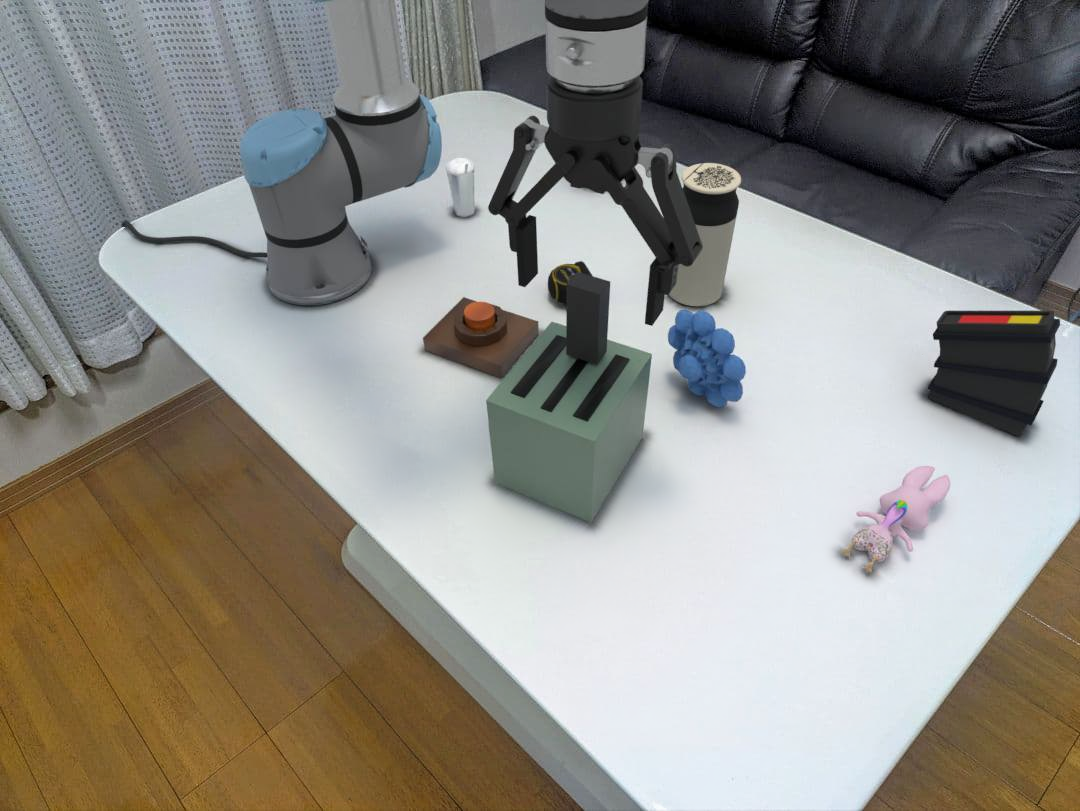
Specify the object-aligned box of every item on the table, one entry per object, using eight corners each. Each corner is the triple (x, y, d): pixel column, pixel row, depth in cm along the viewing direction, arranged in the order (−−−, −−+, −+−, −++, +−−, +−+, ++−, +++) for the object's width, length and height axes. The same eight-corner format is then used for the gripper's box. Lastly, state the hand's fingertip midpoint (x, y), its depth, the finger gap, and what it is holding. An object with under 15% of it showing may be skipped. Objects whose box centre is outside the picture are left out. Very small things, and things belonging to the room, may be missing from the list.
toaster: (494, 482, 82) (485, 398, 73) (553, 403, 91) (551, 319, 81) (591, 523, 78) (594, 440, 69) (642, 436, 86) (652, 352, 77)
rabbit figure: (880, 591, 73) (963, 497, 78) (893, 564, 68) (981, 466, 73) (825, 551, 76) (909, 463, 81) (835, 523, 72) (923, 431, 77)
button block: (424, 350, 98) (420, 327, 95) (465, 309, 104) (462, 286, 102) (501, 378, 94) (499, 355, 91) (538, 333, 100) (538, 310, 97)
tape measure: (602, 304, 104) (603, 283, 102) (556, 314, 103) (556, 293, 100) (585, 278, 109) (586, 256, 106) (541, 287, 108) (541, 265, 105)
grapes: (641, 384, 93) (648, 309, 84) (678, 361, 96) (689, 286, 87) (711, 436, 86) (727, 360, 78) (748, 409, 89) (768, 333, 81)
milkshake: (459, 224, 120) (453, 167, 113) (447, 209, 124) (440, 153, 117) (484, 217, 122) (479, 160, 115) (471, 202, 125) (466, 146, 118)
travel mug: (732, 289, 106) (755, 174, 93) (701, 315, 102) (720, 199, 89) (686, 268, 110) (703, 155, 97) (655, 292, 106) (667, 178, 93)
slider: (566, 354, 77) (566, 284, 70) (576, 341, 78) (577, 271, 72) (597, 365, 76) (600, 294, 69) (606, 351, 77) (610, 281, 71)
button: (459, 325, 96) (457, 314, 95) (475, 308, 99) (474, 298, 97) (485, 334, 95) (484, 323, 94) (501, 317, 97) (500, 306, 96)
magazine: (1056, 443, 82) (1050, 326, 75) (930, 429, 92) (914, 325, 85) (1065, 424, 84) (1059, 309, 77) (940, 412, 94) (926, 309, 87)
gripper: (433, 66, 59) (461, 284, 74) (736, 123, 50) (697, 358, 65) (483, 36, 63) (499, 247, 78) (768, 84, 54) (724, 311, 69)
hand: (589, 297), depth 72 cm, fingers open, 13 cm apart
